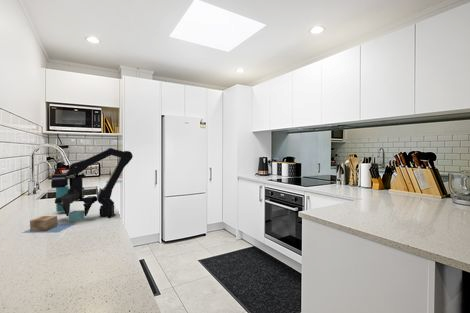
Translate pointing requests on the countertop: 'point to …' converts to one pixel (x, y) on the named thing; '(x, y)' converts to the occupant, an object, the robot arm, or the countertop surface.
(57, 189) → the beverage bottle
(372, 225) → the countertop surface
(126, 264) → the countertop surface
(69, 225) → the blue flat board
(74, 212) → the teal cube
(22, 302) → the countertop surface
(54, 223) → the walnut base block
